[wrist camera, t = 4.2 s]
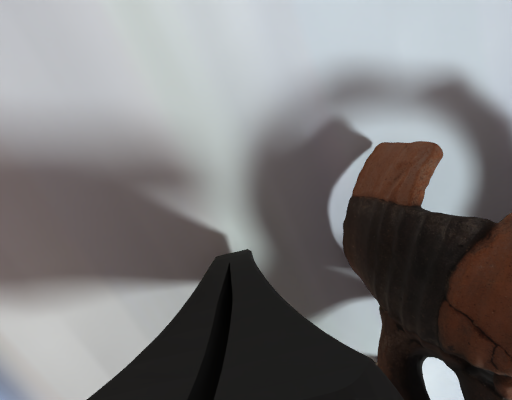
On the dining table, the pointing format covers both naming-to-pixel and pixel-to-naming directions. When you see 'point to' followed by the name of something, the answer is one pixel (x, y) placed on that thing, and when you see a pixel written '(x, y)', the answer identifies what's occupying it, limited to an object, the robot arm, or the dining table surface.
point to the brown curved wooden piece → (431, 276)
